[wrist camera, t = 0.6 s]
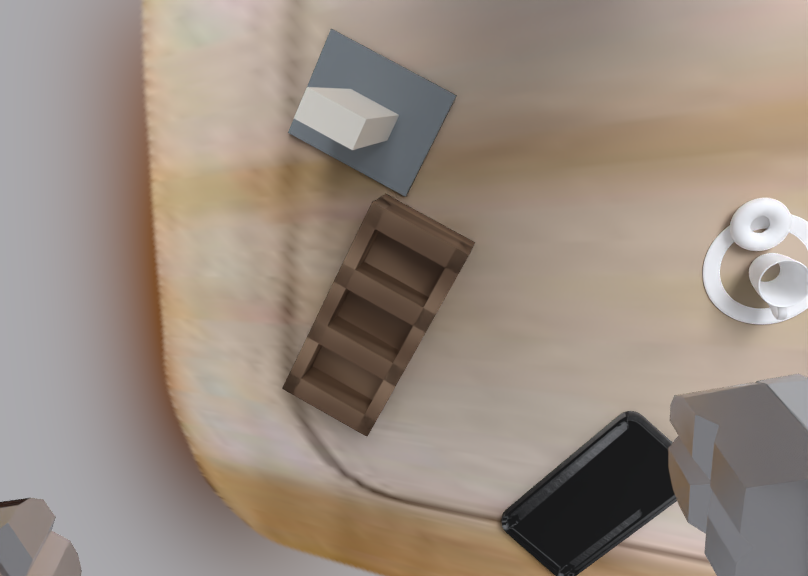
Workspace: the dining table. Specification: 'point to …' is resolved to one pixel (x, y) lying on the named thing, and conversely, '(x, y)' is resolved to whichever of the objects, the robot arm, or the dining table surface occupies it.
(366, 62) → the mat
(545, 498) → the phone
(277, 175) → the dining table surface
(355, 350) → the rack
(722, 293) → the teacup and saucer
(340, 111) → the block
